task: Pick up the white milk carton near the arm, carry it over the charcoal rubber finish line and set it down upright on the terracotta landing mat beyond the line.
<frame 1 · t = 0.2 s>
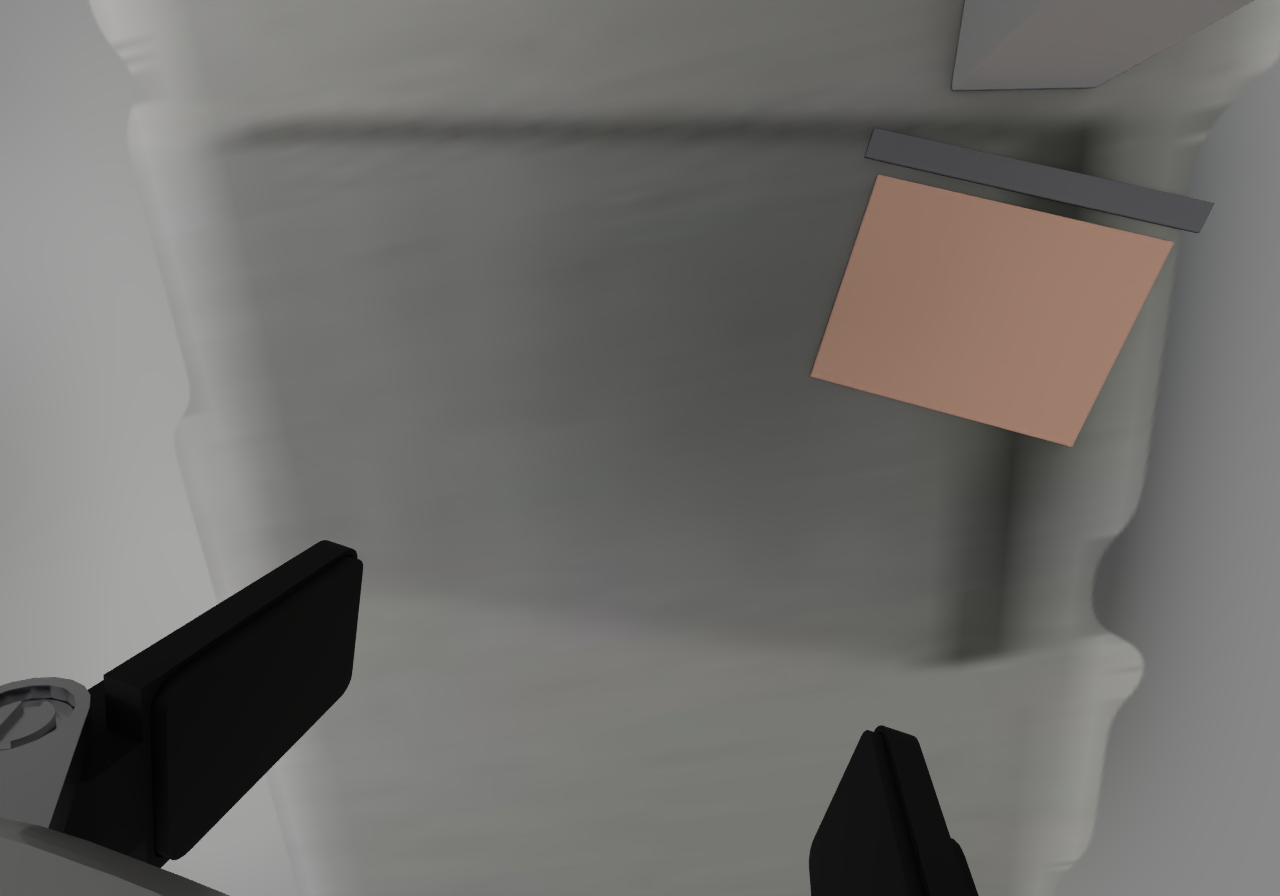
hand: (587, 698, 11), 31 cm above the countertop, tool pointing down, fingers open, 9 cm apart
landing mat: (975, 314, 36), on the countertop
finish line: (1031, 179, 33), on the countertop
milk carton: (1033, 15, 32), on the countertop
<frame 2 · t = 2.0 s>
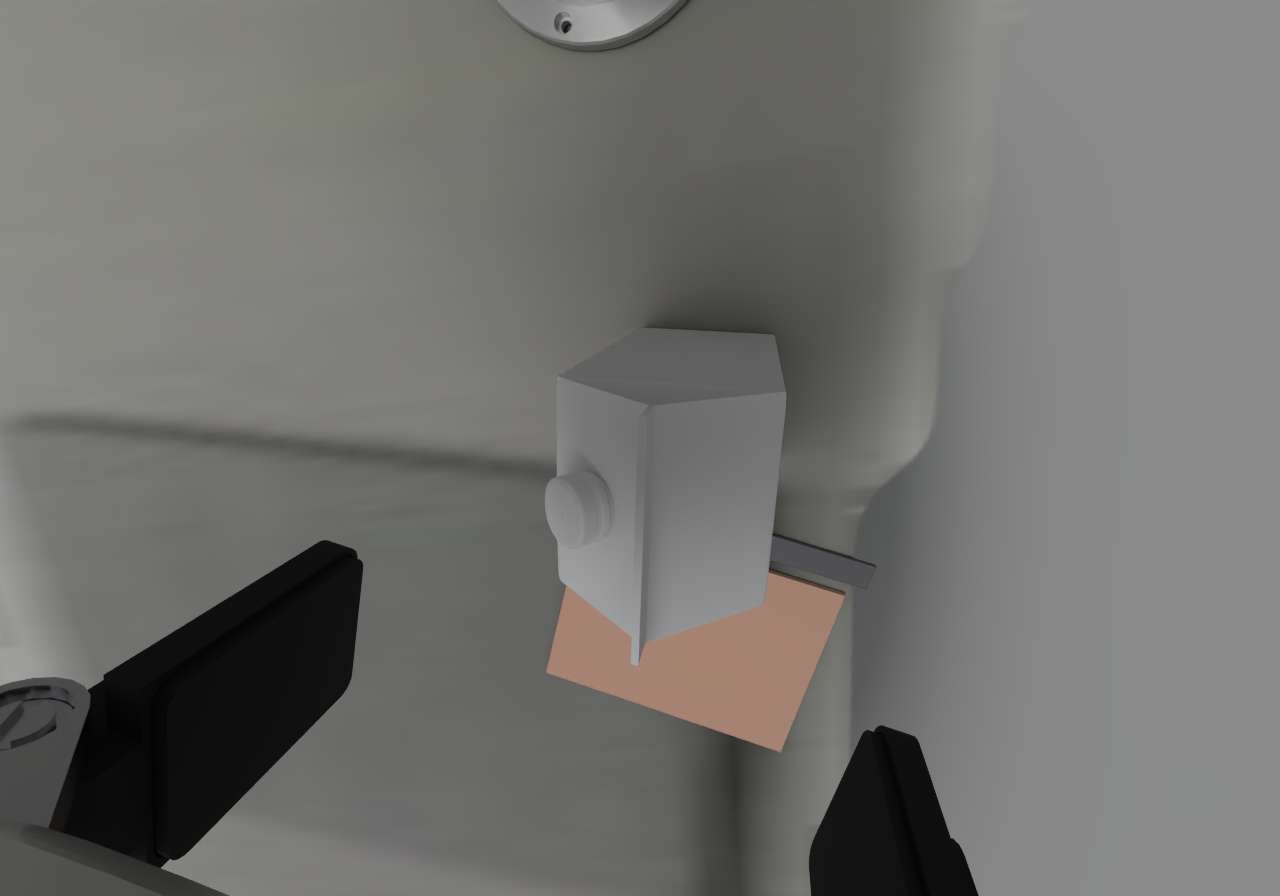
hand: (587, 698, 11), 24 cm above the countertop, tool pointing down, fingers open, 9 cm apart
landing mat: (685, 633, 38), on the countertop
finish line: (718, 529, 35), on the countertop
milk carton: (703, 394, 33), on the countertop
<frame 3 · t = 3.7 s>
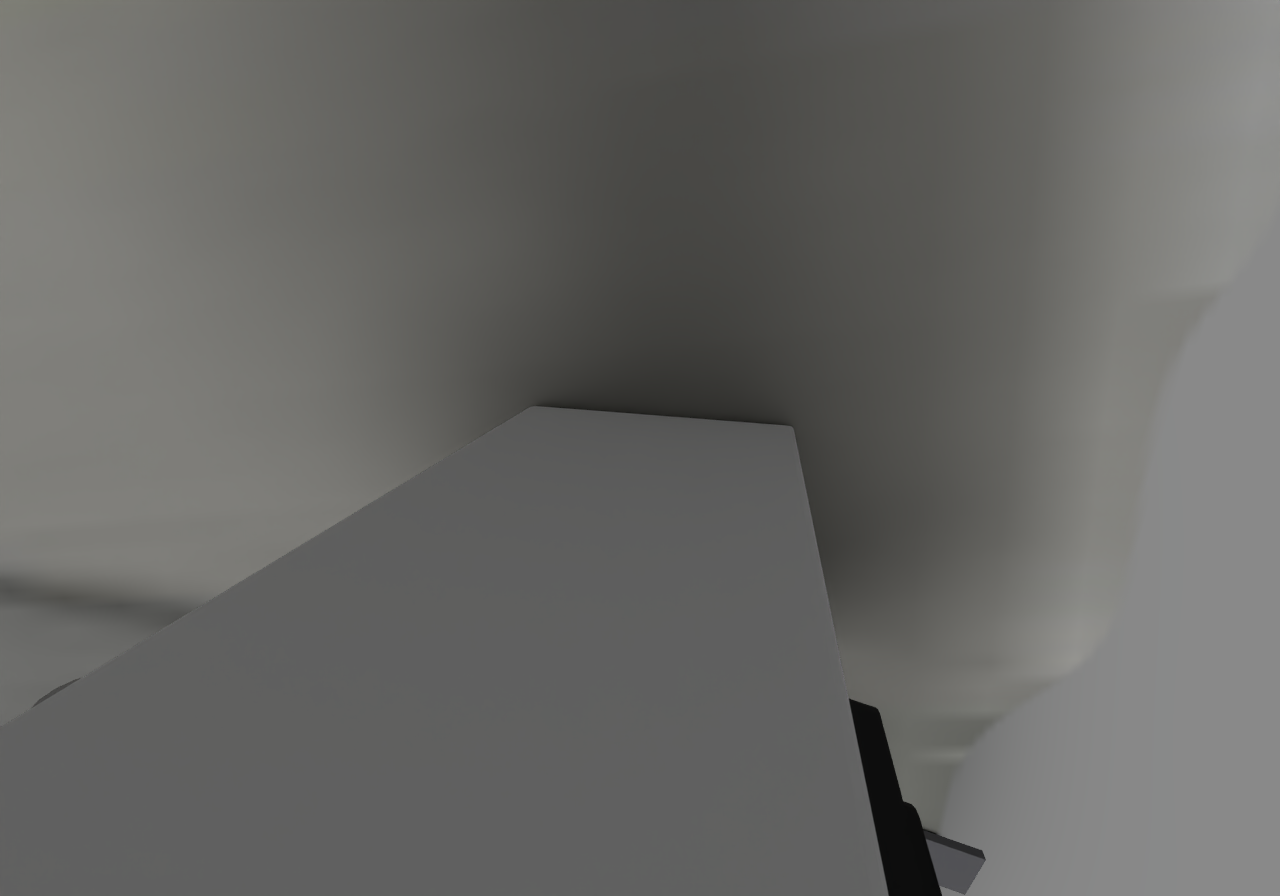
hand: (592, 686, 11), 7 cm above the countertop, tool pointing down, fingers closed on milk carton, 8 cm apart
finish line: (686, 767, 19), on the countertop
milk carton: (654, 531, 17), on the countertop, touching gripper
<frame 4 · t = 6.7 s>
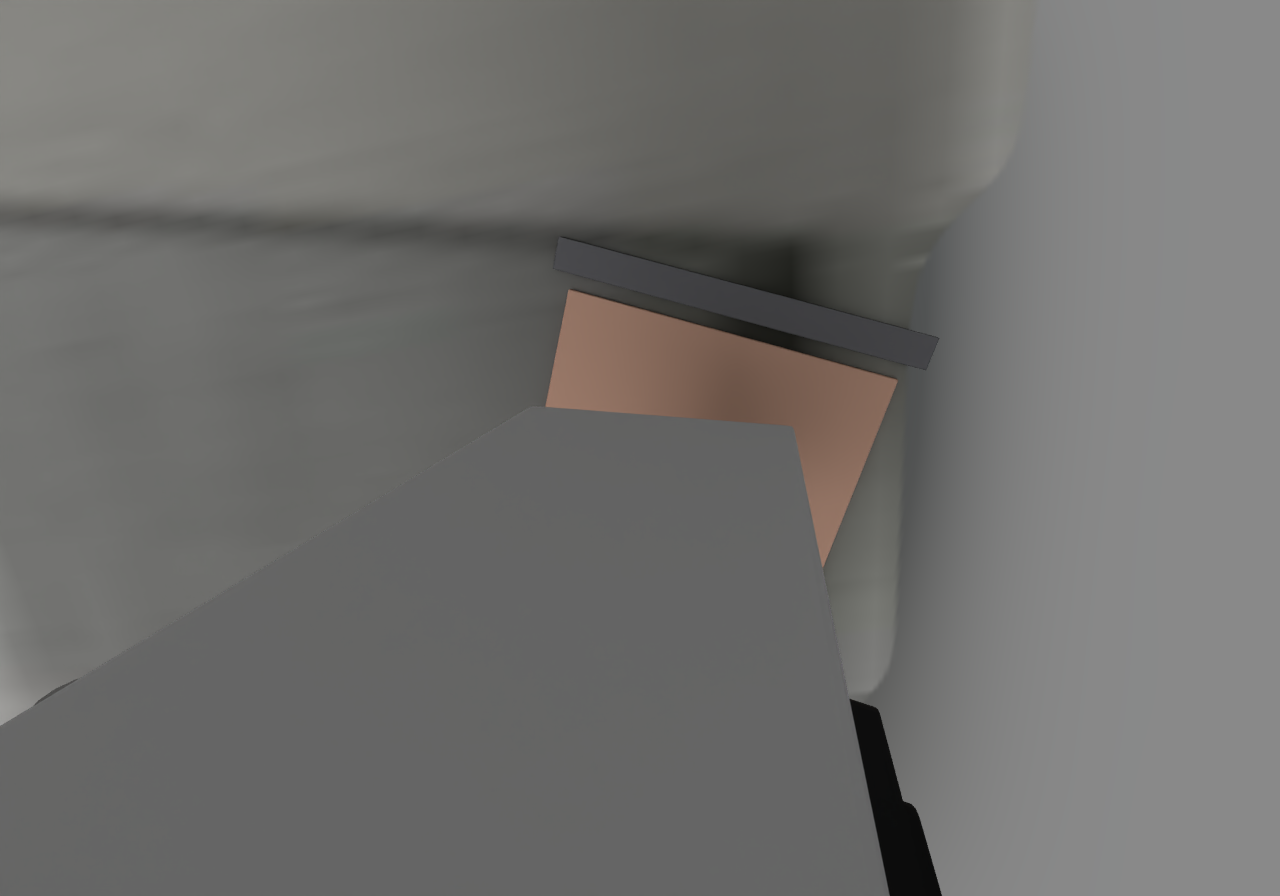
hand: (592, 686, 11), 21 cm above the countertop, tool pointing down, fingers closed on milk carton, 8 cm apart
landing mat: (695, 447, 31), on the countertop
finish line: (738, 301, 28), on the countertop
milk carton: (654, 531, 17), point 14 cm above the countertop, touching gripper
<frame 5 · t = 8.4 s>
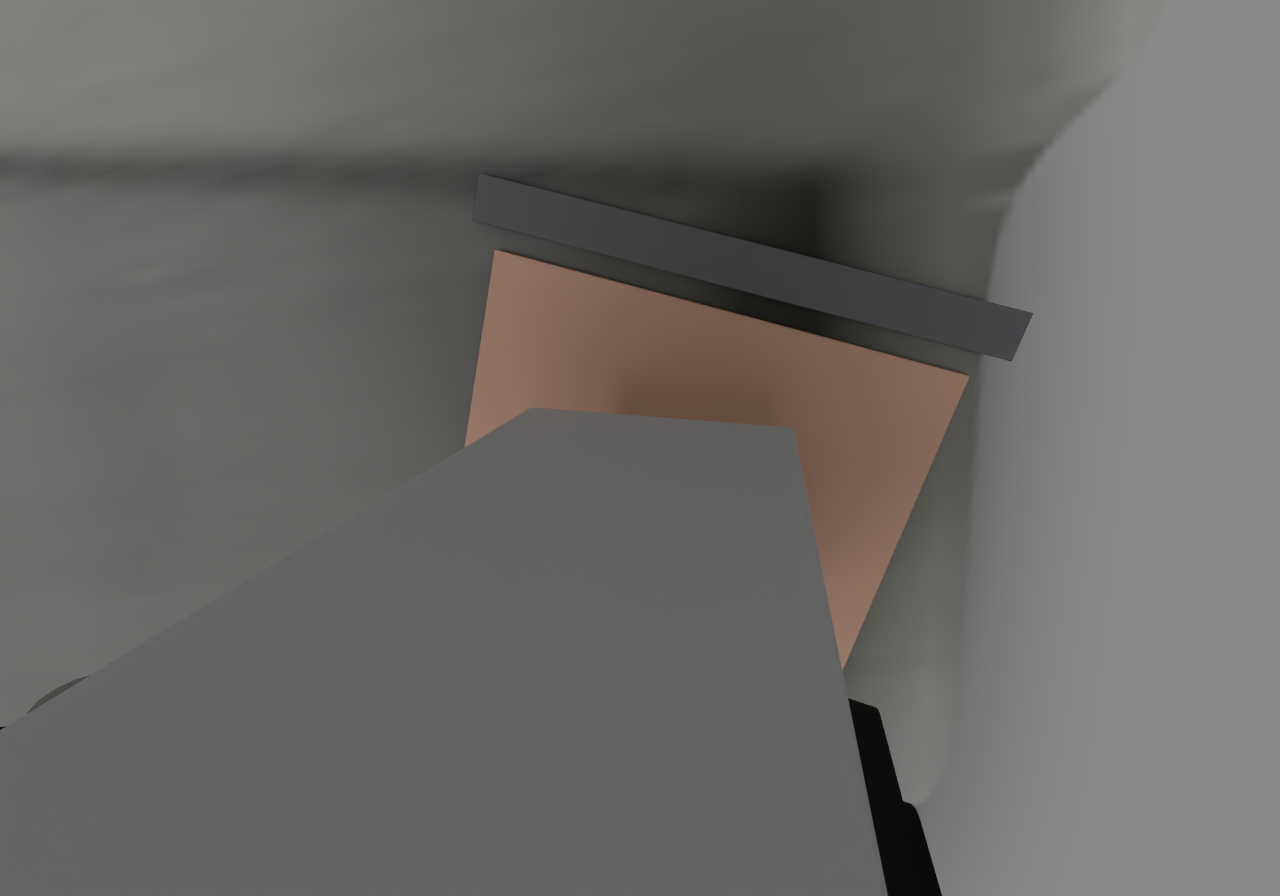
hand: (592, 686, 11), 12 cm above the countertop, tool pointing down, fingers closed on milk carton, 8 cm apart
landing mat: (676, 472, 22), on the countertop
finish line: (735, 263, 20), on the countertop
milk carton: (654, 532, 17), point 5 cm above the countertop, touching gripper
when the fingers open (8 cm above the countertop, at t = 9.7 s): milk carton drops 1 cm, resting on landing mat.
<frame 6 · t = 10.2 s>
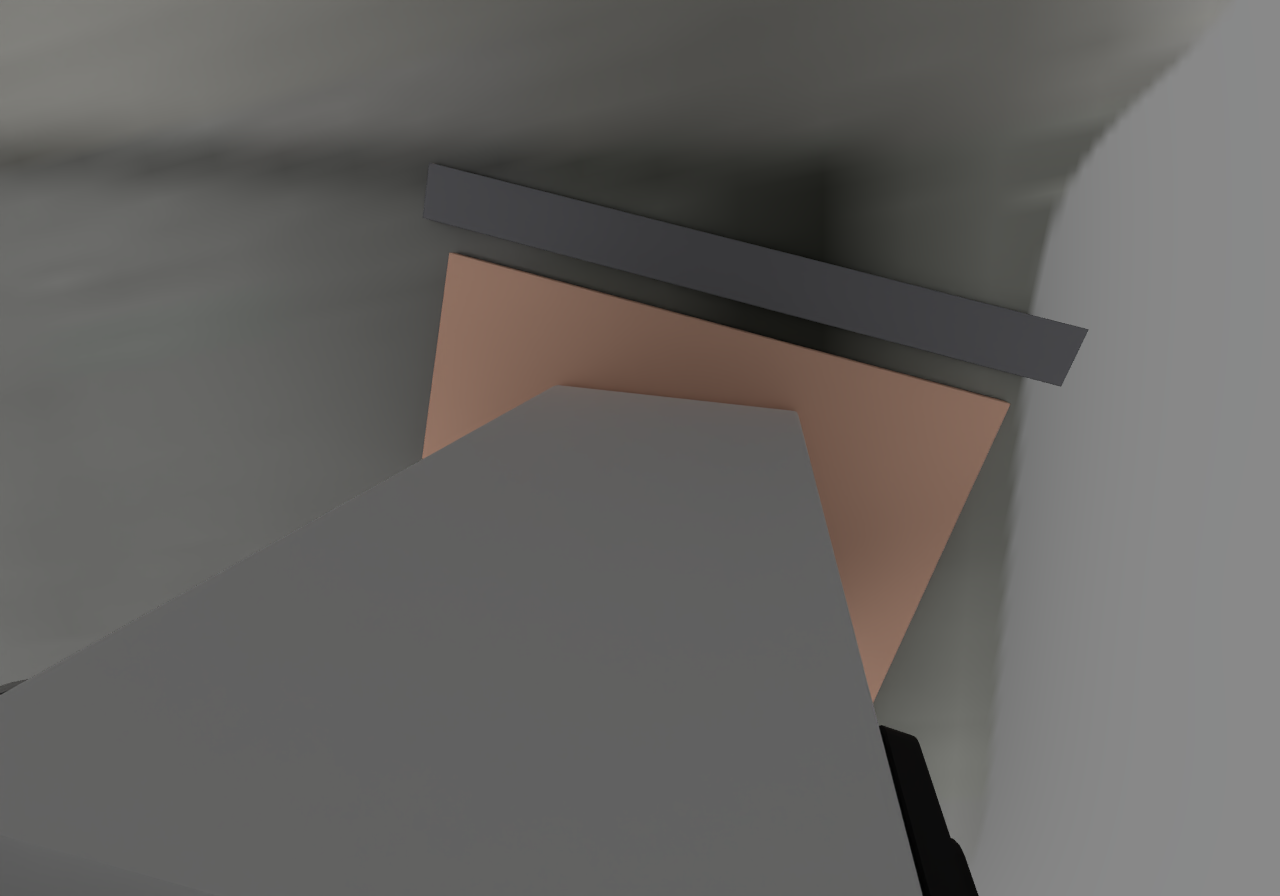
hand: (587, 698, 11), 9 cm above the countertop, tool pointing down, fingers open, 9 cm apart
landing mat: (663, 510, 19), on the countertop
finish line: (731, 269, 17), on the countertop
milk carton: (664, 506, 19), resting on landing mat
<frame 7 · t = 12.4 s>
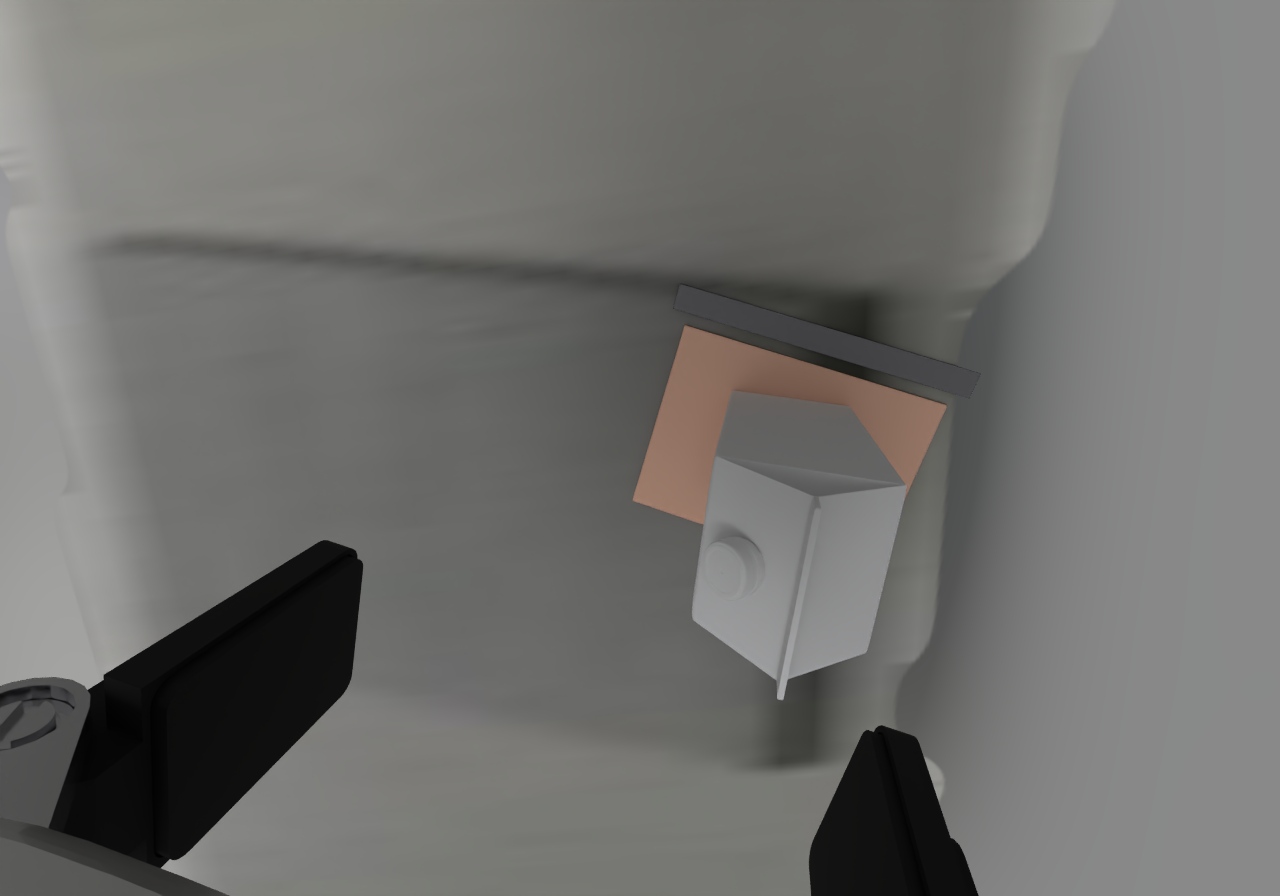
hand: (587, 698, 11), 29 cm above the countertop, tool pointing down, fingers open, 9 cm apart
landing mat: (778, 454, 38), on the countertop
finish line: (821, 339, 36), on the countertop
milk carton: (780, 451, 38), resting on landing mat
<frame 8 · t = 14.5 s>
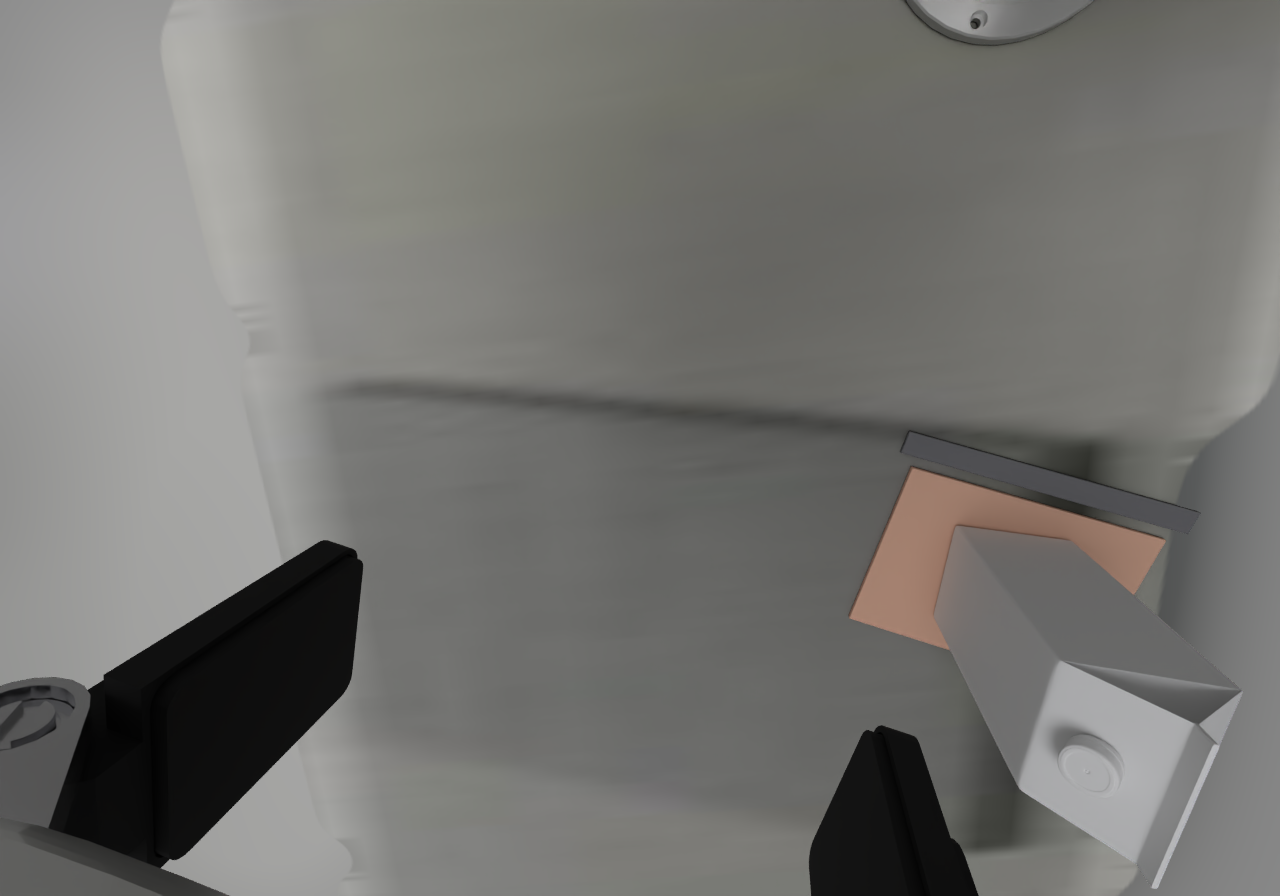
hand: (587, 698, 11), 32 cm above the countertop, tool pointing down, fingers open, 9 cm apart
landing mat: (994, 579, 41), on the countertop
finish line: (1044, 480, 39), on the countertop
milk carton: (997, 577, 41), resting on landing mat
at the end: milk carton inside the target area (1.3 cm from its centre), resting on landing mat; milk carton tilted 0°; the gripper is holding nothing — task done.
